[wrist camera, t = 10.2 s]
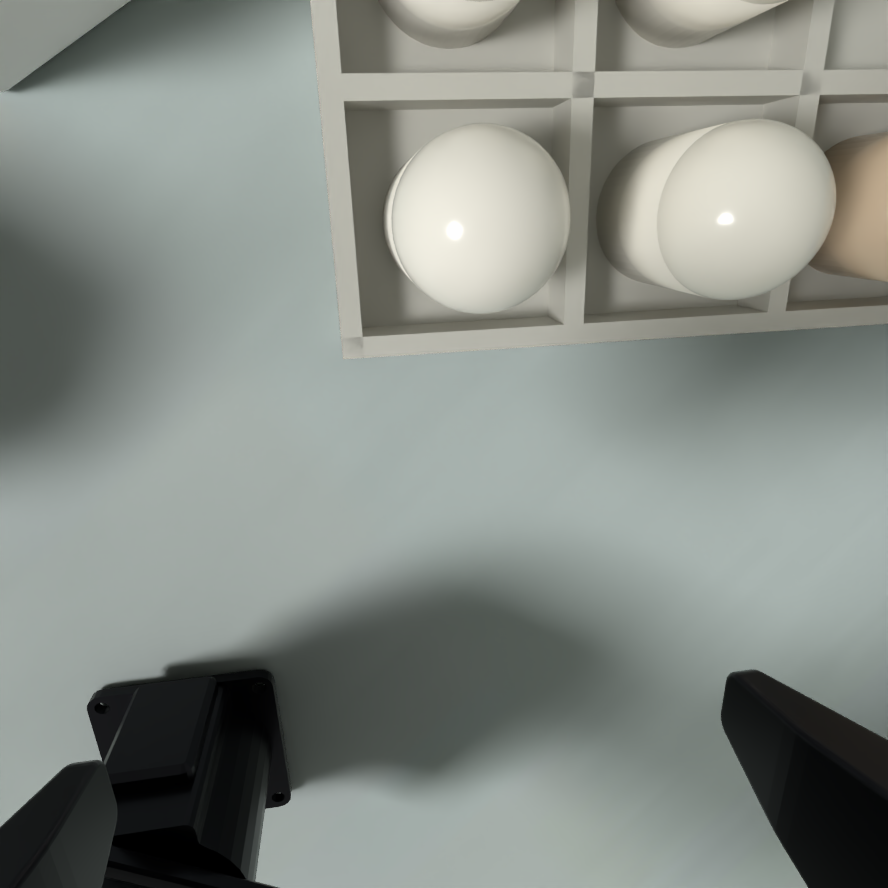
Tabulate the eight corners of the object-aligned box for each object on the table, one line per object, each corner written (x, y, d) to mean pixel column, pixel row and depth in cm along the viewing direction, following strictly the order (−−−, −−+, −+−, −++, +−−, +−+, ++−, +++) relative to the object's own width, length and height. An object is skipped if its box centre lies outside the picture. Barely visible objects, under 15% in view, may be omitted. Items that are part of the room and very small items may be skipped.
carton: (909, 309, 22) (965, 318, 20) (343, 344, 20) (343, 359, 18) (1020, -181, 18) (1109, -233, 15) (291, -217, 15) (283, -286, 13)
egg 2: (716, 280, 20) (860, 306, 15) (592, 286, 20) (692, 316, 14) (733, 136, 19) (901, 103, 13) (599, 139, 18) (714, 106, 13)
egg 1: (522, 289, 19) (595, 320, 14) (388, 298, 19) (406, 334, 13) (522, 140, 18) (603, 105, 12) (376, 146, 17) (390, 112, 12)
